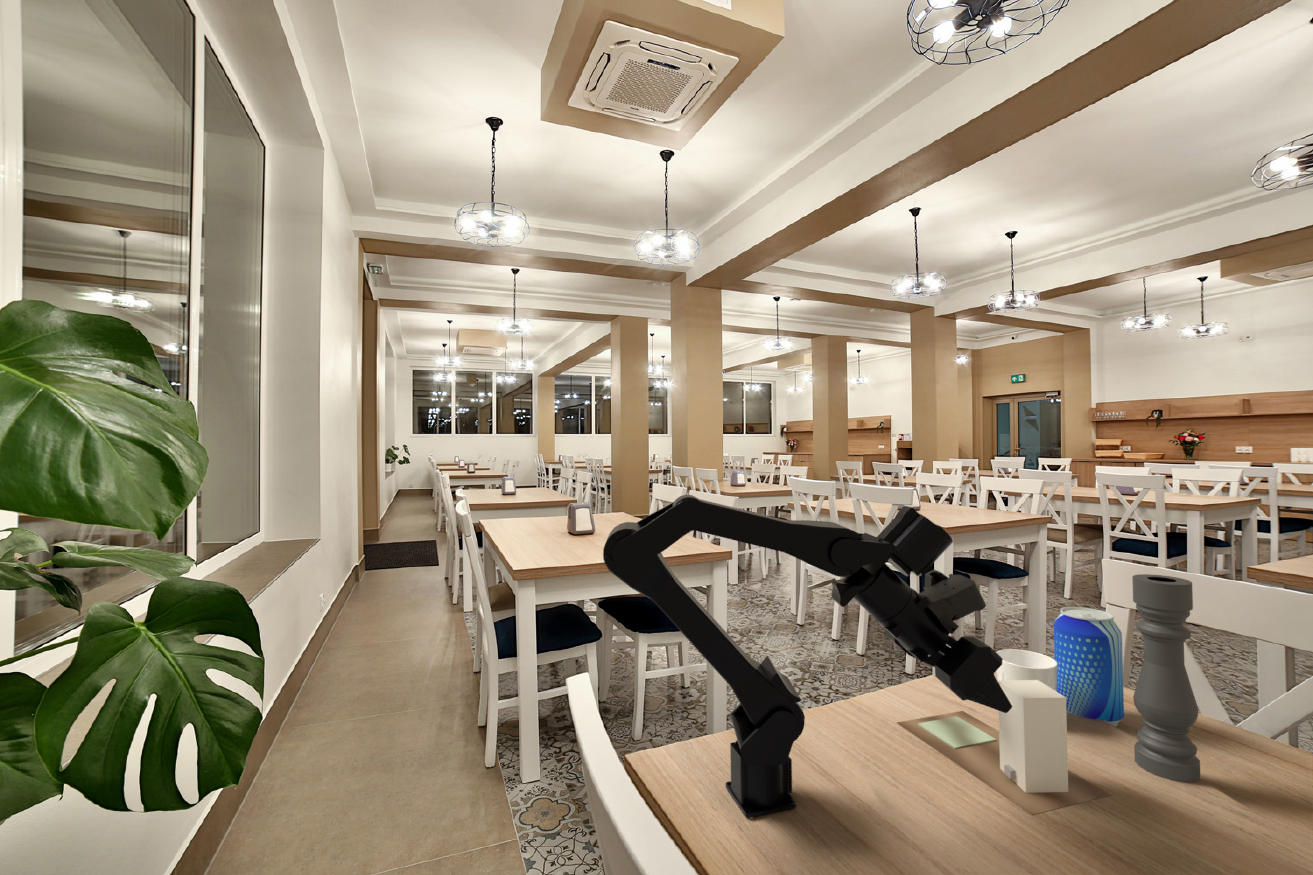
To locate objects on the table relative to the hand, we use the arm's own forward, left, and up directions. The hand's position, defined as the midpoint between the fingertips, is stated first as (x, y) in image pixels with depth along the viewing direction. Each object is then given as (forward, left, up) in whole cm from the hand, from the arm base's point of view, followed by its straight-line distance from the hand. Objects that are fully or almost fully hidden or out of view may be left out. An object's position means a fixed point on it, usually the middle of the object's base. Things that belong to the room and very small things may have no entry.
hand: (985, 692), depth 70 cm
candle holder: (+23, -5, -12) cm, 27 cm away
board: (+5, +4, -12) cm, 14 cm away
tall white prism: (+5, -2, -11) cm, 12 cm away
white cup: (+19, +11, -12) cm, 26 cm away
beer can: (+30, +10, -12) cm, 34 cm away
